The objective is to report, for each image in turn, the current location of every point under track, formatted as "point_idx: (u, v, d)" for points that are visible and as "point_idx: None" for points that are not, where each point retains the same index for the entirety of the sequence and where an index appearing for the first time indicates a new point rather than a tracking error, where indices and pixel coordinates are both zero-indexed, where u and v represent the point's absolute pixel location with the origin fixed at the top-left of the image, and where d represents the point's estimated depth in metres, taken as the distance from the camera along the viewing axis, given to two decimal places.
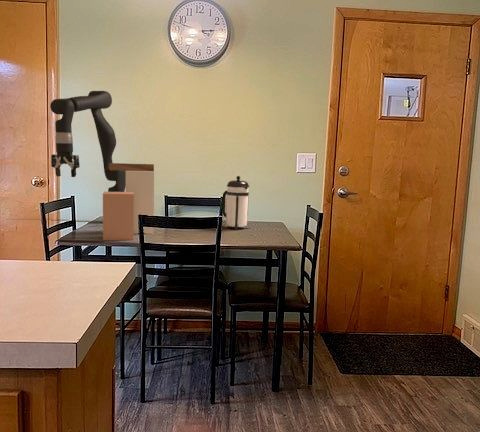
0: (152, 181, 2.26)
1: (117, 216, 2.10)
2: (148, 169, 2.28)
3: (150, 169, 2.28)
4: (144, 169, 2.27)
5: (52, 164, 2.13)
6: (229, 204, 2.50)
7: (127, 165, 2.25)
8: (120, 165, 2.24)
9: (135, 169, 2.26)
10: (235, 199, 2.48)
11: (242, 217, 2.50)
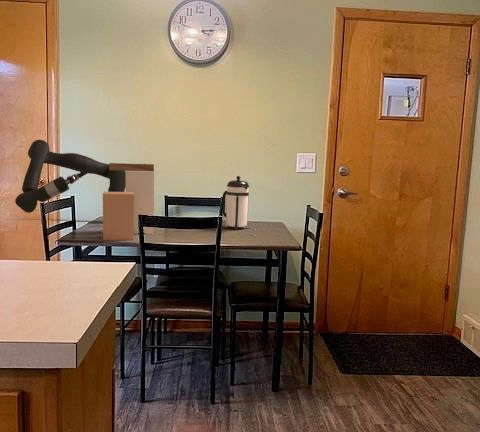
0: (152, 181, 2.26)
1: (117, 216, 2.10)
2: (148, 169, 2.28)
3: (150, 169, 2.28)
4: (144, 169, 2.27)
5: None
6: (229, 204, 2.50)
7: (127, 165, 2.25)
8: (120, 165, 2.24)
9: (135, 169, 2.26)
10: (235, 199, 2.48)
11: (242, 217, 2.50)
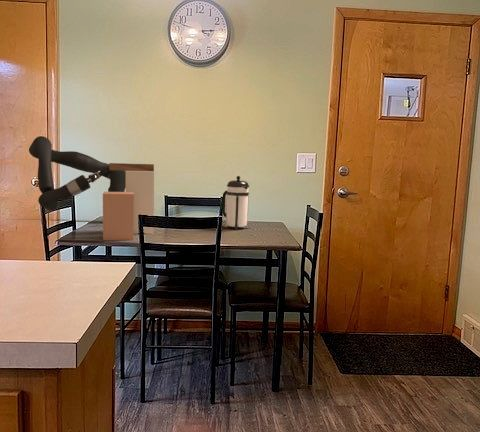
0: (152, 181, 2.26)
1: (117, 216, 2.10)
2: (148, 169, 2.28)
3: (150, 169, 2.28)
4: (144, 169, 2.27)
5: None
6: (229, 204, 2.50)
7: (127, 165, 2.25)
8: (120, 165, 2.24)
9: (135, 169, 2.26)
10: (235, 199, 2.48)
11: (242, 217, 2.50)
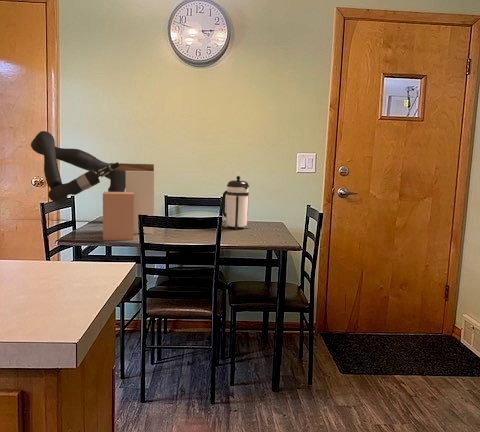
0: (152, 181, 2.26)
1: (117, 216, 2.10)
2: (148, 169, 2.28)
3: (150, 169, 2.28)
4: (144, 169, 2.27)
5: None
6: (229, 204, 2.50)
7: (127, 165, 2.25)
8: (120, 165, 2.24)
9: (135, 169, 2.26)
10: (235, 199, 2.48)
11: (242, 217, 2.50)
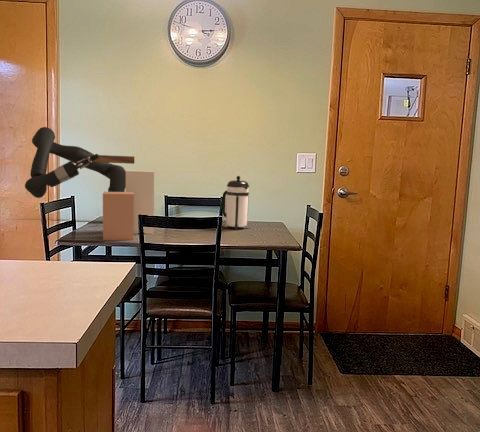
0: (152, 181, 2.26)
1: (117, 216, 2.10)
2: (128, 161, 2.23)
3: (130, 161, 2.23)
4: (124, 161, 2.22)
5: None
6: (229, 204, 2.50)
7: (107, 157, 2.20)
8: (99, 157, 2.19)
9: (115, 161, 2.21)
10: (235, 199, 2.48)
11: (242, 217, 2.50)
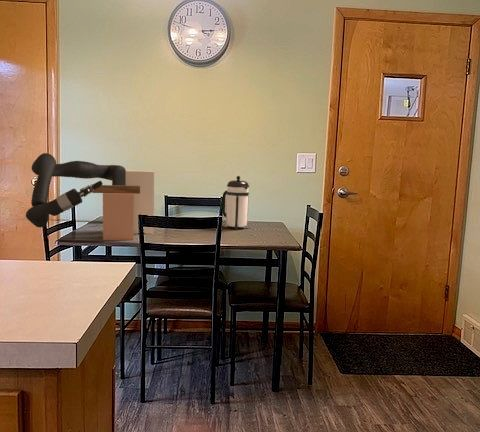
0: (152, 181, 2.26)
1: (117, 216, 2.10)
2: (134, 191, 2.13)
3: (136, 191, 2.13)
4: (129, 191, 2.13)
5: None
6: (229, 204, 2.50)
7: (111, 187, 2.11)
8: (104, 187, 2.10)
9: (120, 191, 2.12)
10: (235, 199, 2.48)
11: (242, 217, 2.50)
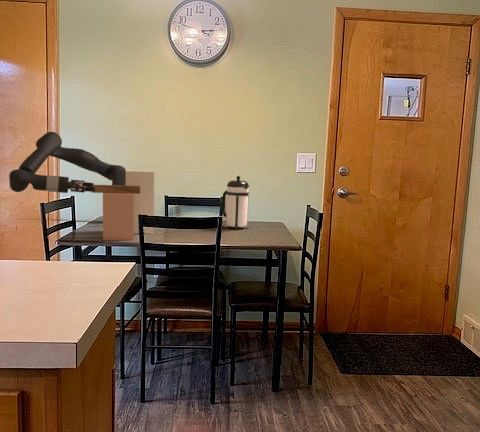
0: (152, 181, 2.26)
1: (117, 216, 2.10)
2: (134, 191, 2.13)
3: (136, 191, 2.13)
4: (129, 191, 2.13)
5: None
6: (229, 204, 2.50)
7: (111, 187, 2.11)
8: (104, 187, 2.10)
9: (120, 191, 2.12)
10: (235, 199, 2.48)
11: (242, 217, 2.50)
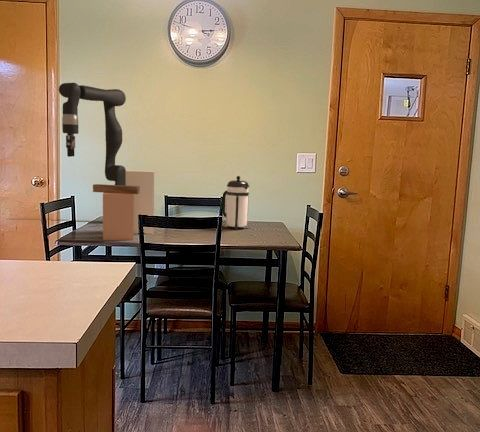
0: (152, 181, 2.26)
1: (117, 216, 2.10)
2: (131, 192, 2.11)
3: (133, 192, 2.11)
4: (127, 191, 2.11)
5: None
6: (229, 204, 2.50)
7: (110, 187, 2.12)
8: (103, 187, 2.12)
9: (118, 191, 2.12)
10: (235, 199, 2.48)
11: (242, 217, 2.50)
